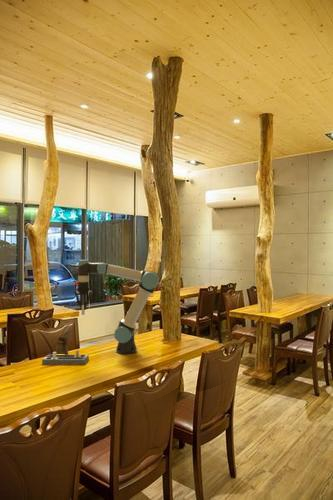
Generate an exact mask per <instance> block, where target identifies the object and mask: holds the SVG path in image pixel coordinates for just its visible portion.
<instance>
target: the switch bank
mask: <svg viewBox="0 0 333 500" xmlns="http://www.w3.org/2000/svg"><path fill="white" fill-rule="evenodd" d="M75 355H76V354H65V355H56V358H58V359H51V358H53V354H47V355H46V356H45V357H43V358H42V360H41V362H42V363H41V364H42V365H85V364H86V363H88V360H89V358H90V354H80V355H81V357H74V356H75Z"/></svg>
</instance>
